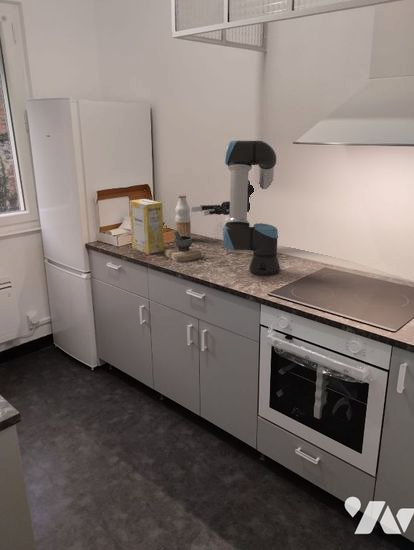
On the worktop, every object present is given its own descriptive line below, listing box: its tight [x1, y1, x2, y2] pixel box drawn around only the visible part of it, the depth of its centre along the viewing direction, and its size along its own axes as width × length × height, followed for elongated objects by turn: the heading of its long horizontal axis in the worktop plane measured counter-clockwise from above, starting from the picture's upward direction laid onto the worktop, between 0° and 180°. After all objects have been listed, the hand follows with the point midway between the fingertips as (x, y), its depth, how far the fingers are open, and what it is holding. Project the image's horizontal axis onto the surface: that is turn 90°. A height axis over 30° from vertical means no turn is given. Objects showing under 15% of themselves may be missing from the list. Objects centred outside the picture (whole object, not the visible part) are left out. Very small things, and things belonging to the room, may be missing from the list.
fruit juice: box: [174, 194, 192, 237], centre depth 284 cm, size 9×9×28 cm
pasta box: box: [128, 198, 165, 255], centre depth 264 cm, size 18×10×28 cm, turn 39°
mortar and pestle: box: [173, 229, 194, 252], centre depth 250 cm, size 11×9×12 cm
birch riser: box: [164, 246, 202, 263], centre depth 252 cm, size 15×15×4 cm
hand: (197, 211), depth 250 cm, fingers open, 13 cm apart
